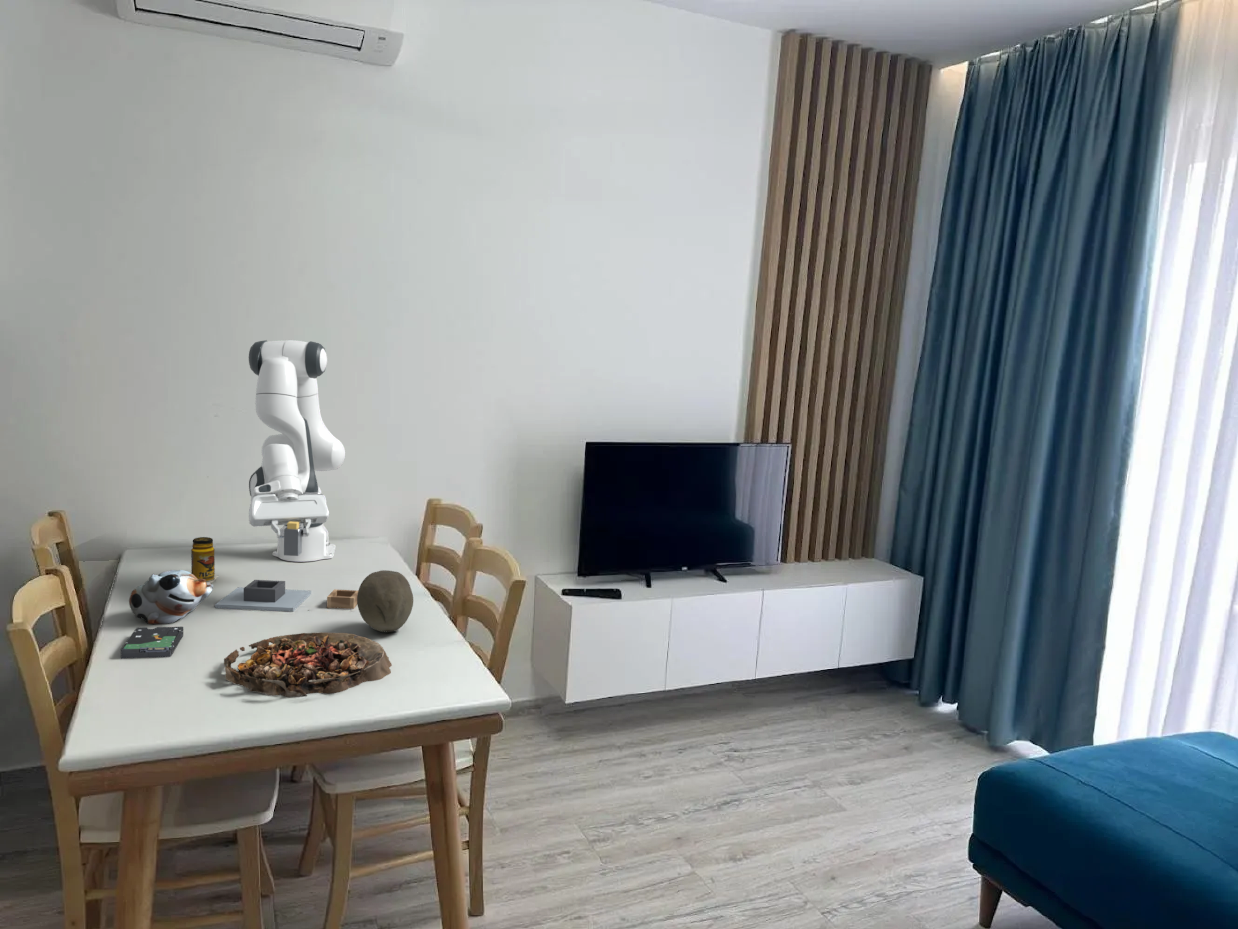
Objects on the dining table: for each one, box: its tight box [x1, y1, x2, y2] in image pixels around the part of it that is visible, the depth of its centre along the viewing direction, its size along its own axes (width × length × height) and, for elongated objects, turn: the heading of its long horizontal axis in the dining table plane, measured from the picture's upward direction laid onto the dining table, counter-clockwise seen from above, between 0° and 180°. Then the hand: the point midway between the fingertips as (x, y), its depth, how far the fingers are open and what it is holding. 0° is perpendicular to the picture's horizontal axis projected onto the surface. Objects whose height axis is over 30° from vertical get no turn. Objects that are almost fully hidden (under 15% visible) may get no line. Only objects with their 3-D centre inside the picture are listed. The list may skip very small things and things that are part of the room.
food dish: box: [223, 631, 393, 698], centre depth 204 cm, size 35×33×8 cm
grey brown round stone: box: [357, 569, 414, 633], centre depth 232 cm, size 14×14×15 cm
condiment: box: [190, 536, 219, 584], centre depth 265 cm, size 7×8×12 cm
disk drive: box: [120, 626, 184, 659], centre depth 213 cm, size 10×3×15 cm
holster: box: [326, 588, 359, 610], centre depth 251 cm, size 7×7×3 cm
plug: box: [284, 521, 302, 556], centre depth 246 cm, size 4×4×8 cm
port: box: [214, 579, 312, 613], centre depth 250 cm, size 16×20×4 cm
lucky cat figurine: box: [128, 569, 214, 625], centre depth 231 cm, size 17×14×16 cm
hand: (293, 536), depth 245 cm, fingers closed on plug, 5 cm apart
